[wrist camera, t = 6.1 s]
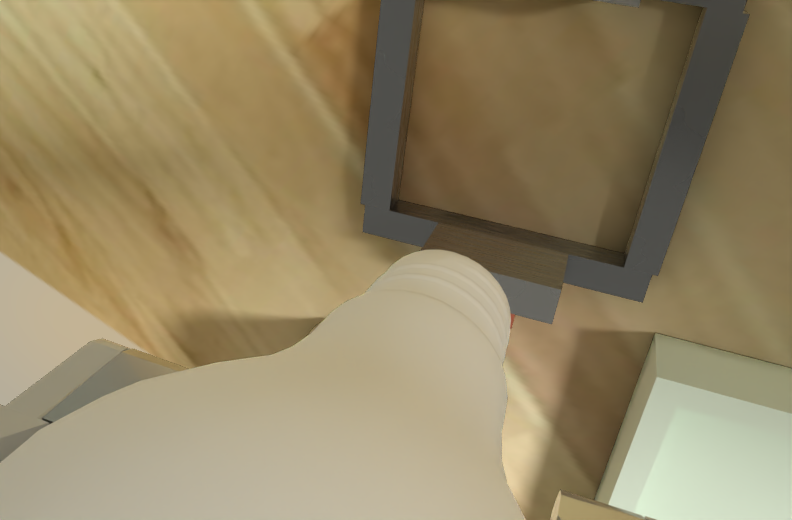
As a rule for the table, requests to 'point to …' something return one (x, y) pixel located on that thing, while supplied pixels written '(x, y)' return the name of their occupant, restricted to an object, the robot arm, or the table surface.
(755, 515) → the tray
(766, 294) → the table surface
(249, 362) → the lightbulb
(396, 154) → the frame
